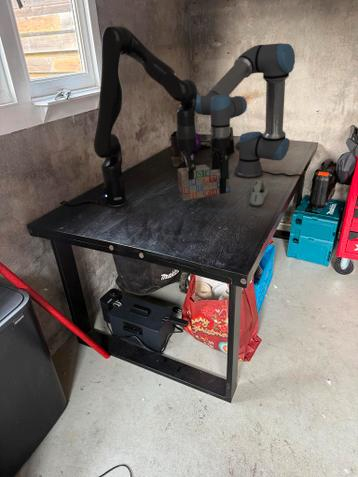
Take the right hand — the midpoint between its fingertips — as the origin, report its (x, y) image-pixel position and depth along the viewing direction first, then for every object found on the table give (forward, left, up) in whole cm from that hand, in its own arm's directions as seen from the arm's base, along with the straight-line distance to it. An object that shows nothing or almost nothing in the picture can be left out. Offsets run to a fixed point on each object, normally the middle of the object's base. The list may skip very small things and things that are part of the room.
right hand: (219, 190), depth 144 cm
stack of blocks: (+6, +3, -1) cm, 7 cm away
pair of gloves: (+27, -117, -10) cm, 121 cm away
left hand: (+12, +7, +9) cm, 16 cm away
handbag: (+12, -87, -10) cm, 89 cm away
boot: (+38, -69, -10) cm, 80 cm away
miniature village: (-9, -112, -10) cm, 113 cm away
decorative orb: (+36, -91, -10) cm, 99 cm away
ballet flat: (-16, -19, -10) cm, 27 cm away
